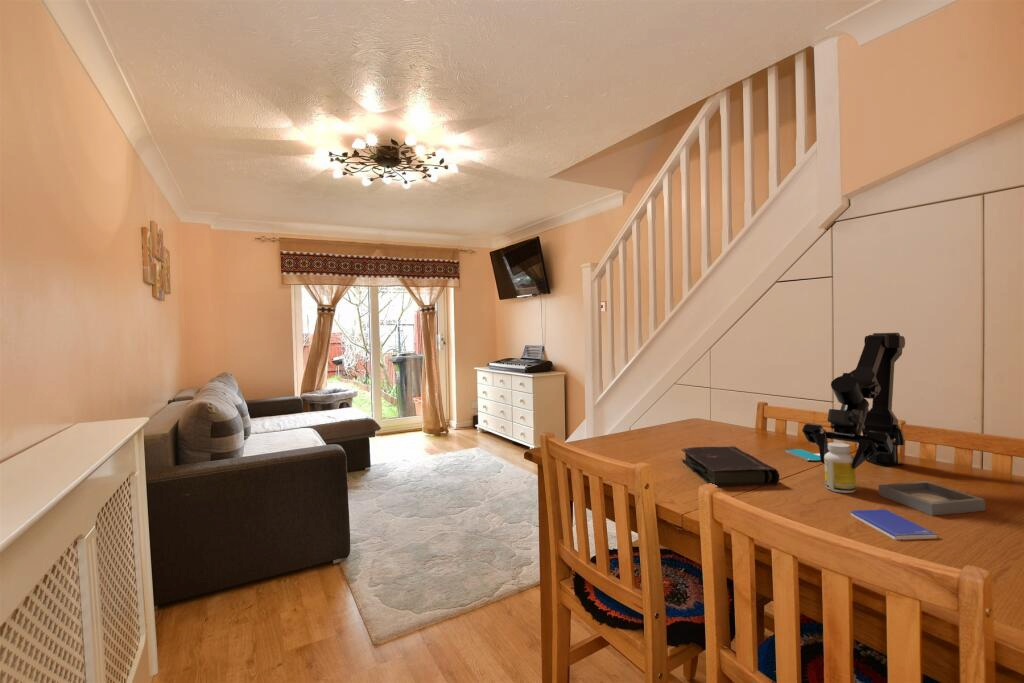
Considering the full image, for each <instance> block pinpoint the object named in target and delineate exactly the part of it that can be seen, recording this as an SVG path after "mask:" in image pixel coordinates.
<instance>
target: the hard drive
mask: <svg viewBox="0 0 1024 683" xmlns="http://www.w3.org/2000/svg"><path fill="white" fill-rule="evenodd" d="M850 515H851V516H852V517H854V518H856V519H857V520H859V521H861V522H863V523H864V524H866V525H868V526H870V527H871V528H873V529H875V530H877V531H878V532H880V533H883V534H884V535H886V536H888V537H889V538H891V539H893V540H895V541H897V540H899V541H900V540H901V539H902V540H923V539H924V540H926V539H927V540H928V539H938V534H937V533H936V532H933V531H932V530H929V529H927V528H925V527H923V526H921V525H920V524H917V523H914V522H913V521H911V520H909V519H906V518H904V517H902V516H901V515H898V514H897V513H894V512H892V511H890V510H888V509H864V510H863V509H861V510H860V509H858V510H856V509H855V510H851V511H850Z"/></svg>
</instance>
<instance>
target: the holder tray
mask: <svg viewBox="0 0 1024 683" xmlns="http://www.w3.org/2000/svg"><path fill="white" fill-rule="evenodd" d="M878 495H879V496H880V497H882V498H885V499H888V500H891V501H893V502H896V503H898V504H901V505H904V506H905V507H908V508H911V509H914V510H916V511H919V512H922V513H924V514H927V515H929V516H931V517H933V516H934V517H935V516H943V515H953V514H962V513H963V514H964V513H977V512H985V511H986V499H984V498H982V497H979V496H975V495H973V494H968V493H966V492H963V491H959V490H958V489H957V490H956V489H953V488H950V487H948V486H947V487H946V486H944V485H940V484H937V483H934V482H931V481H927V480H925V481H924V480H923V481H913V482H911V481H910V482H901V483H899V482H898V483H887V484H879V485H878Z"/></svg>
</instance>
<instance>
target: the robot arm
mask: <svg viewBox="0 0 1024 683" xmlns="http://www.w3.org/2000/svg"><path fill="white" fill-rule="evenodd" d="M863 342H864V345H863V348H862V352H861V354H860V356H859V360H858V363H857V365H856V367H855V369H853V370H851V371H850V372H843V373H842V375H841V376H838V377H836V378H834V379H833V380H832V381H831V383H830V387H831V389H832V392H833V393H834V395H835V397H836V399H837V402H838V403H840V404H841V407H840V409H835V408H829V410H828V414H827V420H826V421H827V422H829V423H830V428H831V429H833V431H832V430H826V429H824V428H823V425H821V424H816V423H805V424H804V425H803V428H802V429H801V430H802V433H803V435H804V436H805V438H806V440H807V442H809V443H813V444H816V445H817V446H818V448H819V453H820V459H821V462H820V463H821V464H824V456H825V454H826V453H828V452H829V450H828V443H829V440H830V439H831V440H837V441H841V442H849V443H855V444H857V445H858V447H857V449H856V452H855V455H854V456H853V457H854V460H853V463H852V468H853V469H855V470H856V469H857V468H858V467H859V466H860V465H861V464H863V463H864V462H865V461H866V462H870V463H872V464H875V465H879V466H883V467H888V466H889V467H891V466H900V465H904V463H903V462H902V461H899V452H898V450H899V449H898V447H899V446H904V445H905V439H904V438H905V437H904V434H903V431H902V429H901V427H900V425H899V420H898V418H897V416H896V415H895V413H894V412H893V410H892V409H893V393H894V391H893V390H894V379H895V378H894V376H895V363H896V361H898V359H900V357H901V356H902V355H903V349H904V348H905V345H906V339H905V336H903V335H900V333H899V332H874V333H872V334H868V335H865V337H864V341H863ZM867 399H870V400H871V399H872V404H871V405H872V406H871V408H869V407H870V403H869V401H868V400H867Z"/></svg>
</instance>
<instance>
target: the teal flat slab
mask: <svg viewBox="0 0 1024 683" xmlns="http://www.w3.org/2000/svg"><path fill="white" fill-rule="evenodd" d="M784 453H785V454H787V455H788V456H789V455H790V456H792V457H795V458H796V459H797V458H798V459H799V460H802V461H805V462H809V461H815V462H817V463H821V462H820V461H821V459H820V452H819V453H813V452H809V451H807V450H804V449H802V448H800V449H793V448H791V447H789V448H786V449H784Z"/></svg>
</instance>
